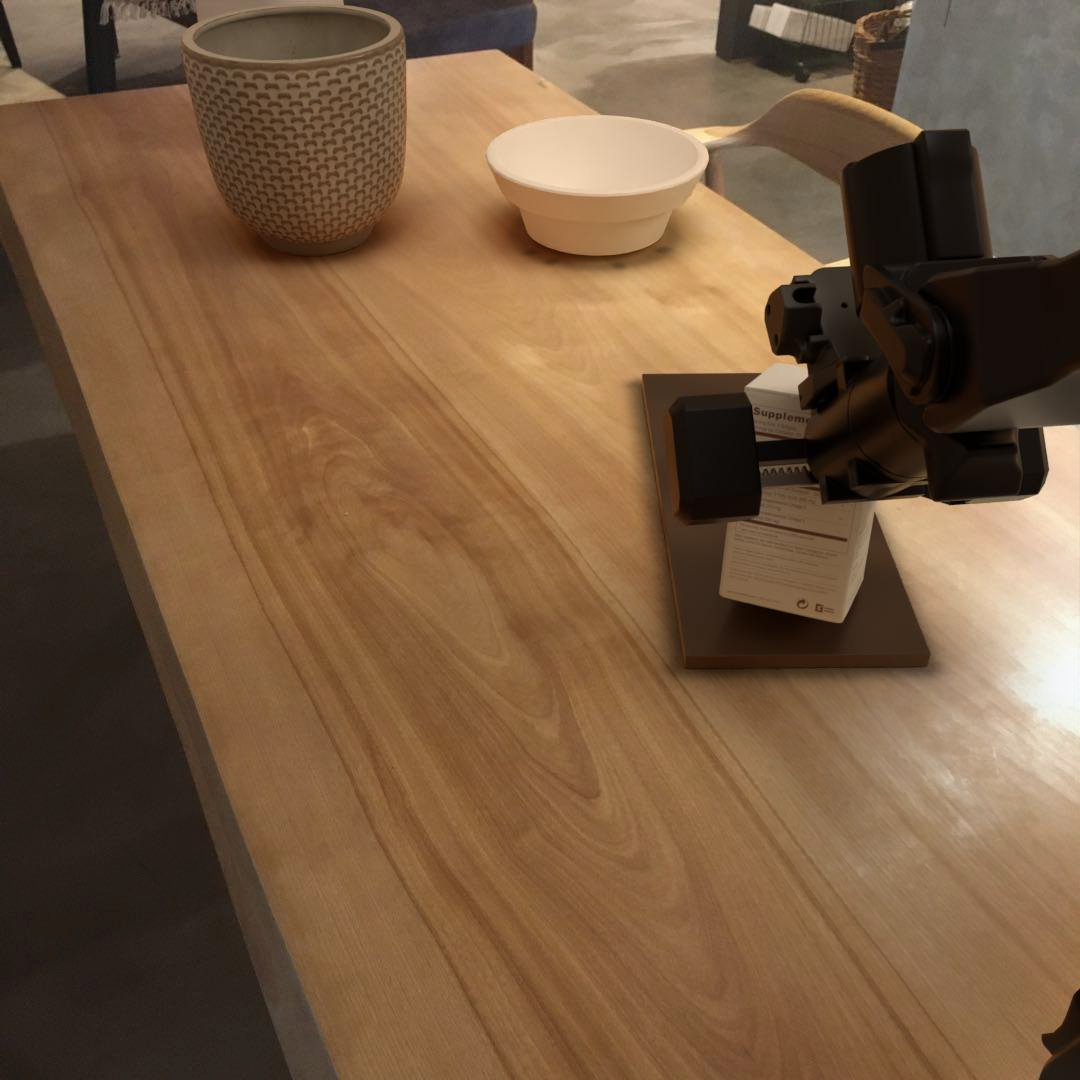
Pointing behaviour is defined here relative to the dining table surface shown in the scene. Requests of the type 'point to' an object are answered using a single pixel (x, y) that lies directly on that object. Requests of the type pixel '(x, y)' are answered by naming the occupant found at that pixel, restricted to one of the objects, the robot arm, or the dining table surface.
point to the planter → (302, 119)
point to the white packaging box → (794, 524)
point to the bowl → (596, 179)
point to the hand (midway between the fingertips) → (803, 480)
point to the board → (754, 631)
